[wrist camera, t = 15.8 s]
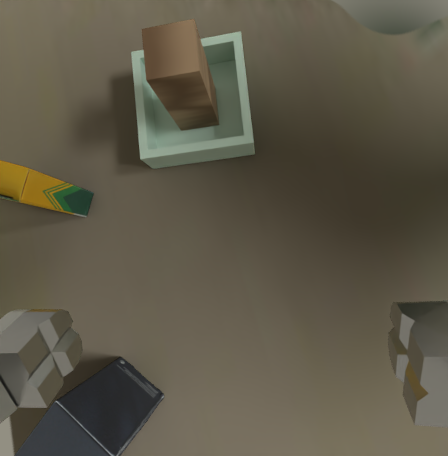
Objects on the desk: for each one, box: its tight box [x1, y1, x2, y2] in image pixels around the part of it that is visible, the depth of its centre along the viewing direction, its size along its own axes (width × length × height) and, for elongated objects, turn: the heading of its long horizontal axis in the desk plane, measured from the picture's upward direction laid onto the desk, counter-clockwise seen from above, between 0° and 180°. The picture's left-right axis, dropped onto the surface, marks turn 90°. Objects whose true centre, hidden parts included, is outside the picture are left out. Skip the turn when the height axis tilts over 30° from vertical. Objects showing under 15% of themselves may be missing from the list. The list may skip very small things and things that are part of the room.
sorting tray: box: [131, 31, 255, 169], centre depth 33 cm, size 11×11×4 cm
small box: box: [15, 357, 164, 456], centre depth 28 cm, size 11×6×10 cm, turn 143°
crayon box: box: [0, 160, 94, 217], centre depth 30 cm, size 7×3×12 cm, turn 75°
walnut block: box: [142, 19, 219, 131], centre depth 29 cm, size 4×4×10 cm
